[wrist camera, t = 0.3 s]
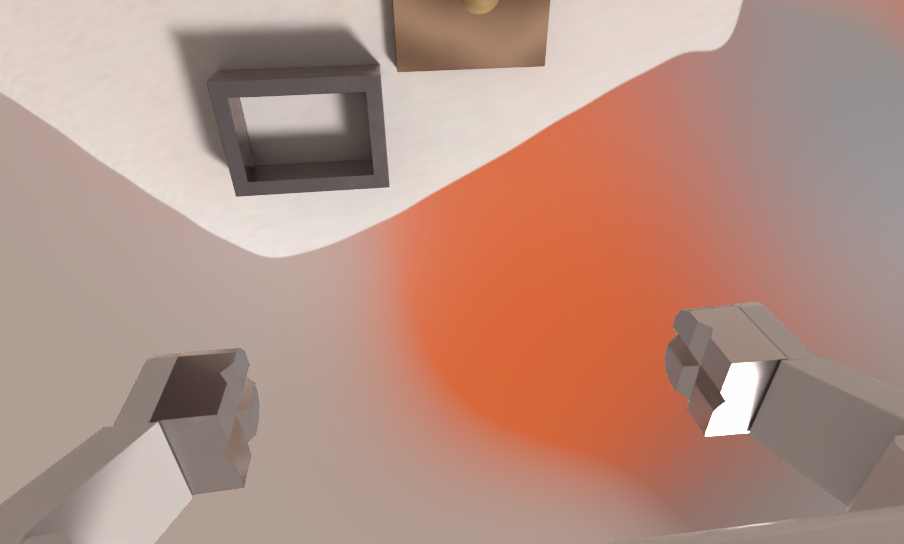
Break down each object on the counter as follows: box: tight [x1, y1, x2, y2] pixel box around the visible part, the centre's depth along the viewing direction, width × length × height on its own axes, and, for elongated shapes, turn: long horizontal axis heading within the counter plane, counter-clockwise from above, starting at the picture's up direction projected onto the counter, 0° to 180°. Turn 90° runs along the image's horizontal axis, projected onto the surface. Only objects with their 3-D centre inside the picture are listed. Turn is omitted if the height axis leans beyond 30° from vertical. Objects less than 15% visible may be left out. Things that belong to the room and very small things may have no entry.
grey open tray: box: [207, 64, 389, 196], centre depth 52 cm, size 11×15×4 cm
